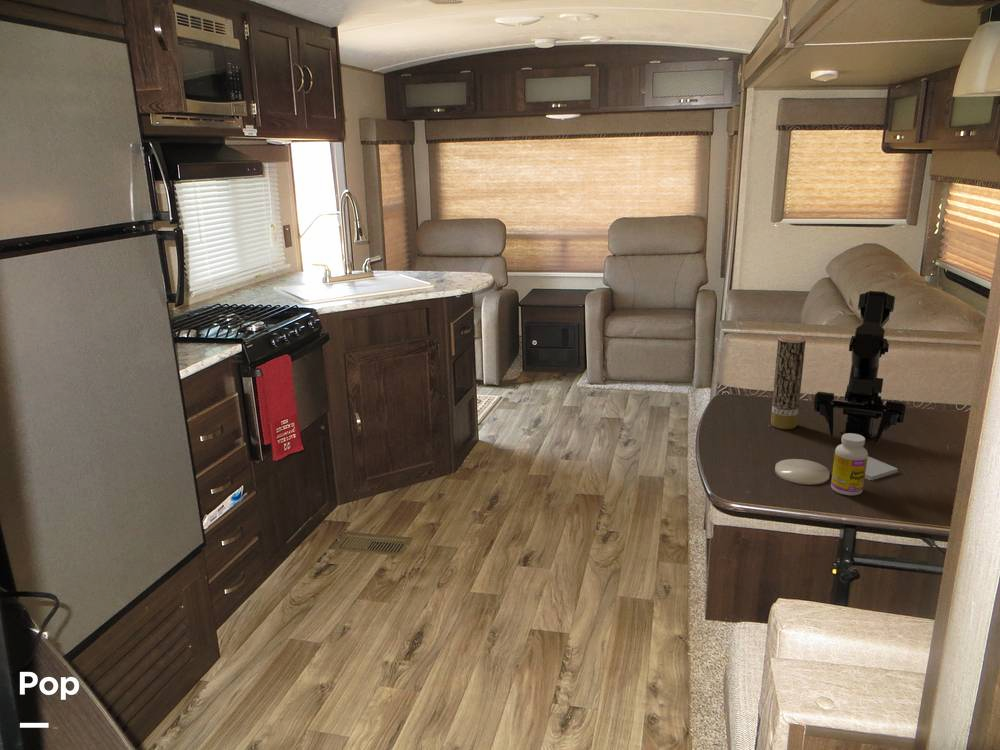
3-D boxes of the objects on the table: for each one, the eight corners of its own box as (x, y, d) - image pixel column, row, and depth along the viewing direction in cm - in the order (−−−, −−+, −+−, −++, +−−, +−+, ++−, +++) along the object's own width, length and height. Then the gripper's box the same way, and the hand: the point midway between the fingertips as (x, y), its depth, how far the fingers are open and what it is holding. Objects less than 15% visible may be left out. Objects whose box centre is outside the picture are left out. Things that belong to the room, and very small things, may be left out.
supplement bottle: (847, 499, 166) (854, 445, 162) (824, 487, 172) (830, 434, 168) (869, 492, 169) (877, 439, 165) (845, 481, 174) (852, 429, 171)
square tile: (864, 458, 186) (865, 454, 185) (897, 472, 178) (897, 468, 178) (838, 466, 182) (839, 462, 182) (870, 480, 174) (871, 476, 174)
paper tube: (774, 419, 212) (782, 333, 204) (799, 424, 208) (808, 336, 200) (767, 427, 207) (774, 338, 199) (792, 432, 203) (801, 342, 195)
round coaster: (800, 459, 187) (800, 455, 186) (840, 477, 176) (841, 473, 176) (763, 469, 182) (764, 465, 181) (803, 489, 171) (803, 485, 171)
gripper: (819, 358, 174) (808, 418, 168) (911, 367, 165) (902, 431, 159) (819, 381, 183) (809, 439, 177) (906, 391, 174) (898, 452, 168)
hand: (853, 440), depth 170 cm, fingers open, 9 cm apart
